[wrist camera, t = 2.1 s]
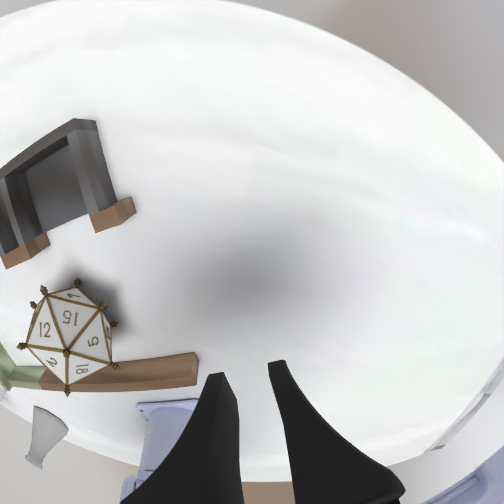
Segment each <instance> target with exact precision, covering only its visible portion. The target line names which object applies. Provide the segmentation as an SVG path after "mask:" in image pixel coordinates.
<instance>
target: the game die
mask: <svg viewBox="0 0 504 504" xmlns="http://www.w3.org/2000/svg"><path fill="white" fill-rule="evenodd" d="M80 283H81V282H80V280H79V278H78V279H77V280H76V281H75V283H74V284H75V287H73V288H69V289H65V290H61V291H57V292H53V293H49V294H48V292H47V291H48V290H47V289H46V287H44V286H42V285H41V290H40V291H41V292H42V294H43V295H44V297H43V298H42V300H41V301H40V302H39V303H38V305H37V304H36V303H35V302H34V301H33V302H30V304H31V307H33V308H35V311H34V314H33V317H32V321H31V324H30V328H29V332H28V336H27V340H26V343H23V342H22V343H19V345H18V346H17V347H16V348H19V349H21V350H22V349H25V348H28V349H29V350H30V351H31V352H32V353H33V355H34V356H35V357H36V358H37V359H38V360H39V361H40V362H41V363H42V364H43V365H44V366H45V367H46V368H47V369H48V370H49V371H50V372H51V373H52V374H54V375H55V376H56V377H57V378H58V379H59V380H60V381H61V382H62V383H63V384H64V385H65V388H64V389H65V390H64V392H65V394H66V396H67V397H68V395H69V394H70V393H71V392H70V388H69V386H70V385H72V384H75V383H77V382H79V381H81V380H83V379H85V378H87V377H89V376H91V375H93V374H95V373H97V372H99V371H101V370H103V369H105V368H107V367H108V366H112V368H113V369H115V370H121V369H120V367H119V364H116V363H113V362H112V350H111V327H116V325H117V324H118V322H116V321H112V322H111V323H110V322H109V321H108V319H107V317H106V316H105V314H104V312H103V311H102V310H104V309H106V308H107V307H108V302H103V301H102V303H100V306H98V305H97V304H96V303H95V302H94V301H93V300H91V299H90V298H89V297H88V296H87V295H86V294H85V293H83V292H82V291H81V290H80V289H79V286H80Z"/></svg>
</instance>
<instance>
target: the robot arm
mask: <svg viewBox="0 0 504 504" xmlns="http://www.w3.org/2000/svg"><path fill="white" fill-rule="evenodd" d="M268 370H269V377H270V381H271V384H272V387H273V391H274V394H275V397H276V401H277V404H278V407H279V410H280V414H281V417H282V421H283V425H284V431H285V437H286V443H287V449H288V455H289V462H290V468H291V475H292V482H293V488H294V495H295V504H400V502H399V498H400V497H401V496H402V495H403V494H404V493H405V491H406V490H405V488H404V486H403V484H402V483H401V481H400V480H399V479H398V477H397V476H396V475H395V474H394V473H393V472H392V471H391V470H390V469H388V468H386V467H385V466H383V465H381V464H379V463H378V462H376V461H374V460H373V459H371V458H370V457H368V456H367V455H365V454H364V453H363V452H361V451H360V450H358V449H357V448H356V447H355V446H353V445H352V444H351V443H349V442H348V441H347V440H346V439H345V438H343V437H342V436H341V435H340V434H339V433H338V432H337V431H336V430H334V429H333V428H332V427H331V426H330V425H329V424H328V423H327V422H326V421H325V420H324V418H323V417H322V416H321V415H320V414H319V413H318V412H317V411H316V409H315V408H314V407H313V406H312V405H311V403H310V402H309V401H308V399H307V398H306V397H305V395H304V394H303V393H302V391H301V390H300V388H299V387H298V385H297V384H296V382H295V380H294V379H293V377H292V375H291V373H290V371H289V369H288V367H287V364H286V361H285V360H279V361H274V362H270V363H268ZM136 408H137V410H138V411H139V412H140V413H141V414H142V415H143V416H144V417H145V419H146V420H147V421H148V426H147V430H146V435H145V440H144V446H143V451H142V456H141V462H140V468H139V471H138V475H137V479H135V476H133V475H129V476H128V477H125V478H124V482H123V486H122V492H121V497H120V504H244V499H243V491H242V485H241V477H240V467H239V414H238V406H237V399H236V397H235V395H234V393H233V391H232V389H231V387H230V385H229V383H228V381H227V379H226V377H225V374H224V372H220V373H214V374H209V375H208V377H207V380H206V383H205V385H204V388H203V390H202V393H201V395H200V397H199V400H196V399H194V400H185V401H174V402H161V403H142V404H136ZM421 504H504V446H502V447H501V448H500V449H499V450H498V451H497V452H496V453H494V454H493V455H492V456H491V457H489V458H488V459H487V460H486V461H484V462H483V463H482V464H481V465H480V466H478V467H477V468H476V469H475V470H474V471H473V472H472V473H470V474H469V475H467V476H466V477H465V478H463V479H462V480H460V481H459V482H457V483H456V484H454V485H453V486H451V487H449V488H448V489H446V490H444V491H443V492H441V493H439V494H438V495H436V496H434V497H432V498H431V499H429V500H427V501H425V502H424V503H421Z"/></svg>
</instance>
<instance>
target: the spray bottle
mask: <svg viewBox="0 0 504 504" xmlns="http://www.w3.org/2000/svg"><path fill="white" fill-rule="evenodd" d="M4 394H5V389H4V387H3V386H2V385H1V384H0V401H1V399H2V398H3V396H4Z"/></svg>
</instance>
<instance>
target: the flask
mask: <svg viewBox="0 0 504 504" xmlns="http://www.w3.org/2000/svg"><path fill="white" fill-rule="evenodd" d="M67 432H68V429H67V427H66V426H65V425H64V424H63V422H62V421H61V420H59V419H58V418H56V417H55V416H53V415H52V414H50V413H49V412H47V411H45V410H42V409H40V408H37V407H34V411H33V428H32V441H31V446H30V450H29V453H28V455H26V456H25V459H26V460H27V461H28V462H30V463H31V464H33V465H34V466H36V467H38V468H40V469H42V462H43V459H44V458H45V456H46V454H47V453H48V452H49V451H50V450H51V449H52V448H53V446H55V445H56V444H57V443H58V442H59V441H60V440H61V439H62V438H63V437H64V436H65V435H66V434H67Z"/></svg>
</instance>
